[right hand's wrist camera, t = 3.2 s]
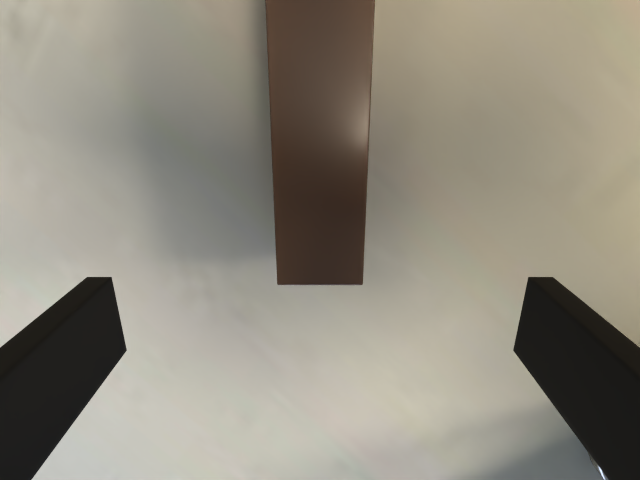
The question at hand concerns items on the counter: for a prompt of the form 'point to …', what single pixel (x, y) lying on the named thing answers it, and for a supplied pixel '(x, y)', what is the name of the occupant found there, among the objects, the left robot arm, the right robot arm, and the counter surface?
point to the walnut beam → (320, 136)
